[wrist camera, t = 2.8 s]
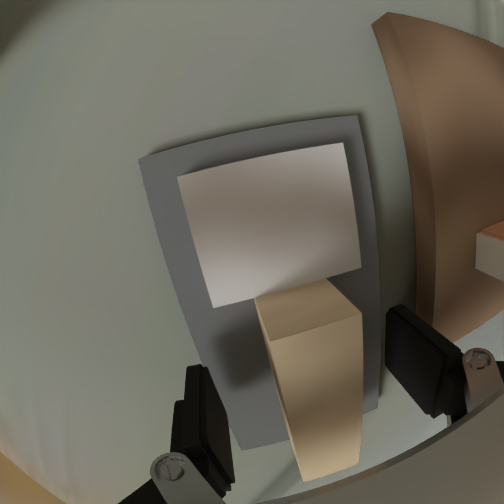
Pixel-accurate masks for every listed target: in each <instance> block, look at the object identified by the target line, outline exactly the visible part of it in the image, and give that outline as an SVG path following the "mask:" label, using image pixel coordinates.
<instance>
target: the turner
mask: <svg viewBox="0 0 504 504" xmlns="http://www.w3.org/2000/svg"><path fill="white" fill-rule="evenodd" d="M177 180H178V184H179V188H180V192H181V196H182V200H183V204H184V207H185V211H186V215H187V219H188V223H189V226H190V230H191V234H192V237H193V241H194V245H195V248H196V252H197V255H198V259H199V262H200V266H201V269H202V272H203V276H204V279H205V283H206V286H207V289H208V293H209V296H210V299H211V302H212V306H213V308H216V307H220V306H224V305H228V304H232V303H236V302H240V301H244V300H248V299H252V298H254V301H255V305H256V309H257V313H258V317H259V321H260V325H261V330H262V334H263V338H264V342H265V346H266V350H267V353H268V357H269V361H270V365H271V369H272V373H273V377H274V381H275V385H276V389H277V393H278V397H279V401H280V405H281V409H282V412H283V416H284V420H285V424H286V428H287V431H288V435H289V438H290V441H291V444H292V447H293V450H294V454H295V457H296V460H297V463H298V466H299V469H300V472H301V475H302V478H303V481H304V482H307V481H310V480H313V479H317V478H320V477H323V476H326V475H329V474H332V473H335V472H338V471H340V470H343V469H346V468H349V467H351V466H354V465H356V464H358V462H359V451H360V440H361V425H362V405H363V328H362V313H361V312H360V311H359V310H358V309H357V308H356V307H355V306H354V305H353V304H352V303H351V302H350V301H349V300H348V299H347V298H346V297H345V296H344V295H343V294H342V293H341V292H340V291H339V290H338V289H337V288H336V287H335V286H334V285H332V284H331V283H330V282H329V281H328V280H327V279H326V278H328V277H331V276H335V275H338V274H342V273H345V272H348V271H352V270H355V269H358V268H361V257H360V247H359V238H358V230H357V222H356V215H355V208H354V201H353V194H352V188H351V182H350V176H349V171H348V165H347V160H346V155H345V150H344V145H343V143H336V144H330V145H323V146H316V147H310V148H304V149H298V150H293V151H287V152H282V153H277V154H272V155H266V156H262V157H257V158H252V159H247V160H243V161H238V162H234V163H230V164H225V165H221V166H217V167H213V168H209V169H205V170H201V171H197V172H193V173H189V174H186V175H182V176H178V177H177Z"/></svg>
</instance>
